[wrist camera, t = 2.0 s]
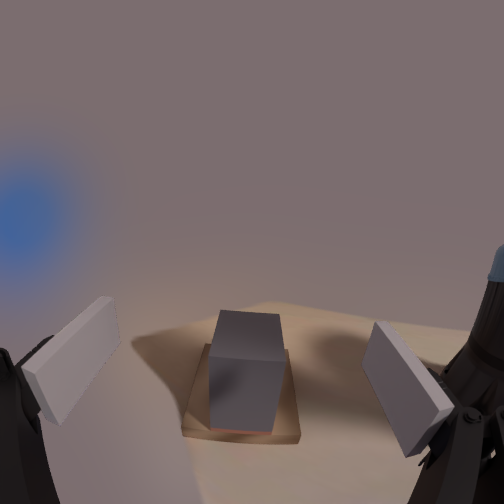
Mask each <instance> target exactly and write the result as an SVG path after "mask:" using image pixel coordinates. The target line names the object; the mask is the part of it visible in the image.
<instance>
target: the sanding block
mask: <svg viewBox="0 0 504 504" xmlns="http://www.w3.org/2000/svg"><path fill="white" fill-rule="evenodd" d="M285 365H286V356H285V349H284V343H283V336H282V329H281V322H280V316H279V314H269V313H254V312H241V311H228V310H221V311H220V314H219V318H218V321H217V325H216V329H215V333H214V336H213V340H212V344H211V348H210V351H209V355H208V368H209V404H210V427H211V431H216V432H226V433H238V434H254V435H272V430H273V426H274V421H275V417H276V412H277V407H278V402H279V397H280V392H281V387H282V382H283V376H284V371H285Z"/></svg>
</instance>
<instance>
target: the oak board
mask: <svg viewBox="0 0 504 504" xmlns="http://www.w3.org/2000/svg"><path fill="white" fill-rule="evenodd" d="M210 348H211V344H207V343H205V346H204V350H203V353H202V356H201V360H200V363H199V366H198V370H197V373H196V377H195V380H194V383H193V387H192V390H191V394H190V397H189V401H188V404H187V408H186V411H185V415H184V418H183V422H182V425H181V429H182V434H183V436H185V437H192V438H198V439H206V440H214V441H223V442H234V443H249V444H298V442H299V440H300V437H301V430H300V424H299V417H298V410H297V404H296V397H295V391H294V384H293V378H292V371H291V365H290V359H289V353H288V349H285V356H286V365H285V371H284V376H283V382H282V387H281V392H280V397H279V402H278V407H277V412H276V417H275V421H274V426H273V430H272V435H254V434H238V433H226V432H216V431H211V427H210V404H209V368H208V355H209V351H210Z"/></svg>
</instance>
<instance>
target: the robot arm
mask: <svg viewBox="0 0 504 504" xmlns="http://www.w3.org/2000/svg"><path fill="white" fill-rule="evenodd" d="M488 280H489V281H488V284H487V288H486V291H485V294H484V297H483V301H482V303H481V306H480V309H479V312H478V315H477V318H476V321H475V323H474V326H473V328H472V331H471V333H470V336H469V338H468V340H467V342H466V344H465V345H464V346H463V347H462V349H461V350H460V351H459V352H458V353H457V354H456V356H455V357H454V358H453V359H452V360H451V361H450V362H449V364H448V365H447V366H446V367H445V368H444V370H443V371H442V373H441V375H440V376H439V375H438V374H437V373H435V372H434V371H433V370H431V369H430V368H425V366H424V365H423V364H422V362H421V361H420V360H419V359H418V357H417V356H416V355H415V354H414V352H413V351H412V350H411V349H410V347H409V346H408V345H407V344H406V343H405V341H404V340H403V339H402V338H401V336H400V335H399V334H398V333H397V332H396V330H395V329H394V328H393V327H392V326H391V324H390V323H389V322H388V321H375V323H374V326H373V330H372V333H371V336H370V339H369V342H368V346H367V349H366V352H365V355H364V357H363V360H362V363H361V366H362V368H363V370H364V372H365V374H366V375H367V377H368V379H369V381H370V383H371V385H372V387H373V389H374V392H375V394H376V396H377V398H378V400H379V402H380V404H381V406H382V408H383V410H384V412H385V414H386V416H387V418H388V421H389V423H390V425H391V427H392V429H393V431H394V433H395V436H396V438H397V440H398V442H399V444H400V447H401V449H402V451H403V453H404V456H405V458H407V457H410V456H414V455H417V454H420V453H421V452H422V451H423V450H424V449H425V447H426V446H427V445H429V447H430V449H431V450H430V451H429V452H428V454H427V455H426V456H425V457H424V458H423V459H422V461H421V462H420V463H419V465H418V466H421V465H422V464H423V462H424V465H423V468H422V470H421V473H420V475H419V478H418V480H417V483H416V485H415V488H414V490H413V492H412V495H411V497H410V499H409V501H408V503H407V504H504V245H502V246H500V247H499V248H498V250H497V252H496V255H495V258H494V261H493V265H492V268H491V272H490V273H489V275H488ZM119 344H120V337H119V331H118V325H117V317H116V310H115V301H114V298H113V297H107V296H101V297H99V298H98V299H97V300H96V301H95V302H93V303H92V304H91V305H90V306H89V307H87V308H86V309H85V310H84V311H83V312H81V313H80V314H79V315H78V316H77V317H76V318H75V319H73V320H72V321H71V322H70V323H69V324H67V325H66V326H65V327H64V328H63V329H62V330H61V331H59V332H58V333H57V334H56V335H52V336H50V337H48V338H46V339H44V340H43V341H41V342H40V343H39V344H38V345H37V347H35V348H34V349H33V350H32V352H31V351H30V352H29V353H28V354H27V355H26V356H25V357H24V358H23V359H21V360H20V361H19V362H18V363H17V364H16V365H15V366H14V365H13V363H12V361H11V358H10V355H9V353H8V351H7V350H5V349H4V348H0V504H60V501H59V498H58V496H57V493H56V490H55V486H54V483H53V479H52V476H51V472H50V468H49V465H48V461H47V456H46V452H45V447H44V442H43V437H42V430H41V424H40V419H39V417H38V415H37V414H38V413H39V411H40V410H41V411H42V412H43V414H44V416H45V418H46V419H47V420H49V421H50V422H53V423H55V424H56V425H58V426H61V424H62V423H63V421H64V420H65V418H66V417H67V415H68V414H69V413H70V411H71V410H72V408H73V407H74V405H75V404H76V402H77V401H78V399H79V398H80V397H81V395H82V394H83V393H84V391H85V390H86V388H87V387H88V386H89V384H90V383H91V382H92V380H93V379H94V377H95V376H96V375H97V373H98V372H99V371H100V369H101V368H102V367H103V365H104V364H105V363H106V361H107V360H108V359H109V357H110V356H111V355H112V353H113V352H114V351H115V349H116V348H117V347H118V345H119ZM494 450H495V452H496V455H495V456H494V457H493V458H491V453H492V452H493V451H494Z"/></svg>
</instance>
